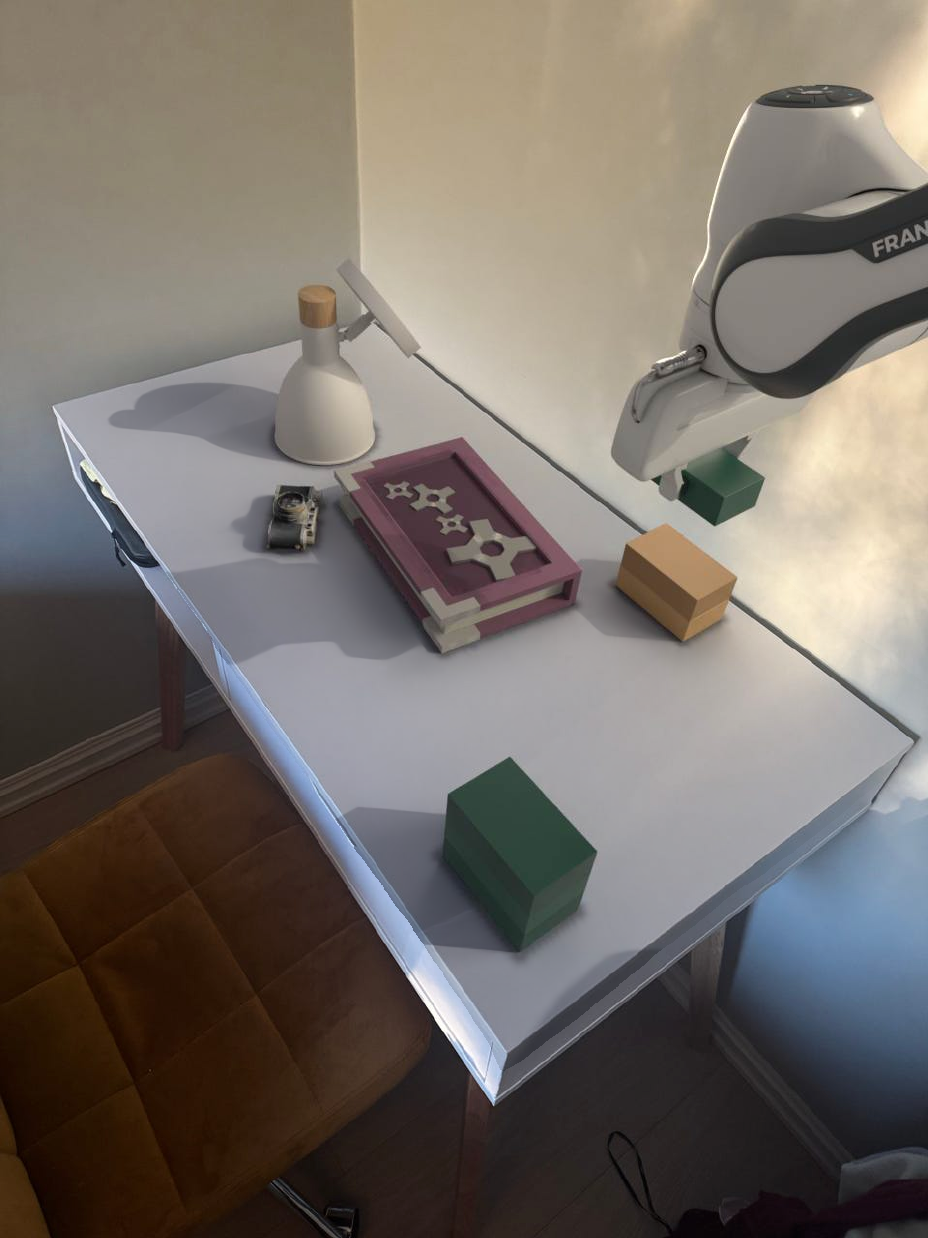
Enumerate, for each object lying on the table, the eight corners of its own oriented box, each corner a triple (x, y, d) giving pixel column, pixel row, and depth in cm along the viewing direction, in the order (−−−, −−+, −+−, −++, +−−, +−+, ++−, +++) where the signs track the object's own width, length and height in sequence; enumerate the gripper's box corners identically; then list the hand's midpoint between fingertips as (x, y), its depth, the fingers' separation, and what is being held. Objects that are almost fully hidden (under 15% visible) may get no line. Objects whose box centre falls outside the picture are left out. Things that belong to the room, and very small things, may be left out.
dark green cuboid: (755, 506, 76) (765, 477, 73) (714, 527, 73) (724, 497, 71) (677, 452, 80) (685, 423, 78) (637, 470, 78) (644, 441, 76)
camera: (323, 496, 104) (322, 467, 101) (312, 557, 97) (310, 527, 94) (279, 494, 104) (276, 464, 101) (265, 554, 97) (261, 524, 94)
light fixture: (295, 449, 120) (189, 354, 104) (414, 342, 117) (324, 228, 101) (330, 505, 112) (222, 412, 96) (458, 393, 110) (369, 278, 94)
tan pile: (722, 618, 95) (738, 577, 90) (682, 642, 92) (697, 600, 88) (654, 564, 100) (666, 522, 96) (614, 585, 97) (625, 542, 93)
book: (335, 505, 103) (333, 469, 100) (459, 470, 110) (461, 435, 106) (438, 655, 89) (441, 619, 85) (575, 605, 95) (582, 570, 91)
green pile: (578, 909, 71) (597, 851, 65) (519, 953, 68) (533, 896, 62) (499, 818, 76) (510, 756, 70) (441, 855, 74) (447, 793, 67)
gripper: (674, 390, 60) (635, 546, 70) (861, 315, 69) (803, 463, 79) (610, 348, 64) (581, 503, 74) (796, 282, 73) (748, 428, 83)
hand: (697, 482), depth 76 cm, fingers closed on dark green cuboid, 5 cm apart
